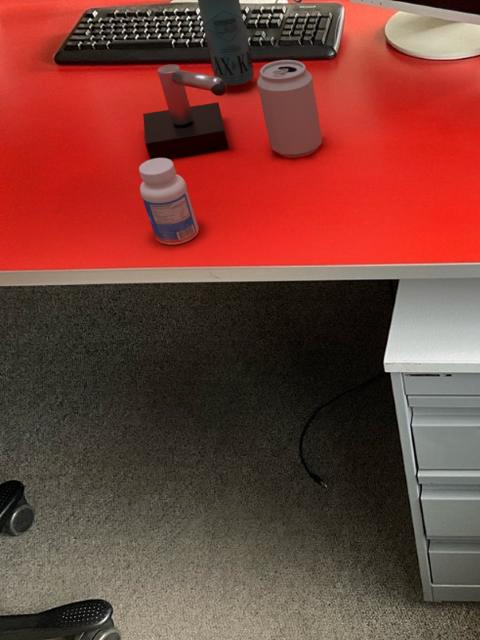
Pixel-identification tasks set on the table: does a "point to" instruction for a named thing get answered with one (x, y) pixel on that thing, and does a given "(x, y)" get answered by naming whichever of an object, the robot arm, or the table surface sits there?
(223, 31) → the beverage bottle
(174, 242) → the pill bottle
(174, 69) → the spout
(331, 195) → the table surface
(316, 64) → the table surface
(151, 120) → the tap base
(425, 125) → the table surface
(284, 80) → the can
